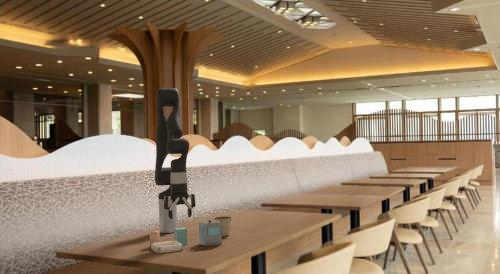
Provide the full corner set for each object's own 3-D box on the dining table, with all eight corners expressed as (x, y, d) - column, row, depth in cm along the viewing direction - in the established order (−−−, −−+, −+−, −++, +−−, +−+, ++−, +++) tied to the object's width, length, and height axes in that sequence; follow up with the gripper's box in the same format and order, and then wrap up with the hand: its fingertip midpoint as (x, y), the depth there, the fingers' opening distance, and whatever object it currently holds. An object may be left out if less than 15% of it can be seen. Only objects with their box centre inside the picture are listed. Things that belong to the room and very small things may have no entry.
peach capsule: (148, 246, 230) (148, 231, 230) (158, 245, 232) (158, 229, 232) (151, 248, 226) (150, 232, 226) (161, 247, 228) (160, 231, 228)
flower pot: (215, 237, 246) (215, 219, 246) (211, 234, 255) (211, 217, 255) (234, 236, 248) (234, 218, 248) (230, 233, 257) (229, 215, 257)
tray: (151, 248, 225) (151, 243, 225) (175, 245, 229) (175, 240, 229) (158, 253, 215) (157, 247, 215) (183, 250, 219) (183, 244, 219)
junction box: (199, 244, 232) (198, 220, 232) (216, 241, 235) (215, 218, 235) (205, 246, 225) (204, 222, 225) (222, 244, 229) (221, 220, 229)
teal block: (174, 243, 235) (174, 228, 235) (184, 242, 237) (183, 227, 237) (177, 245, 231) (177, 229, 231) (187, 244, 233) (186, 228, 233)
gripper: (191, 180, 240) (192, 215, 240) (161, 182, 234) (162, 218, 234) (196, 181, 234) (197, 217, 233) (166, 183, 228) (167, 220, 227)
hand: (180, 217), depth 234 cm, fingers open, 8 cm apart
